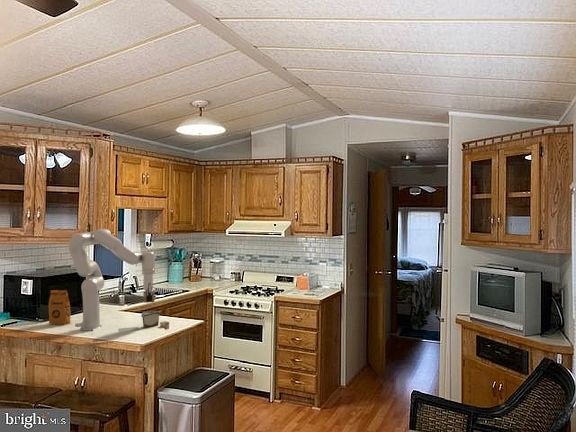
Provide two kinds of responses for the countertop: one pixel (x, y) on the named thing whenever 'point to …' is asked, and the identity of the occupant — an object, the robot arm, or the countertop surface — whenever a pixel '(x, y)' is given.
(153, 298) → the walnut block
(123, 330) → the parts board
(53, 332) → the countertop surface
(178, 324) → the countertop surface
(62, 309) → the coffee package
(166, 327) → the oak block
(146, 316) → the food container
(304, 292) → the countertop surface
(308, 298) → the countertop surface
